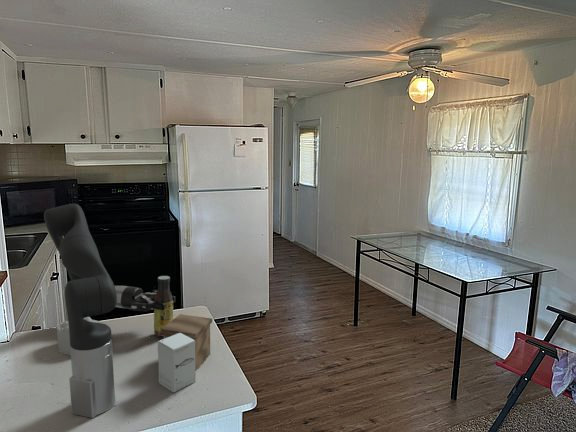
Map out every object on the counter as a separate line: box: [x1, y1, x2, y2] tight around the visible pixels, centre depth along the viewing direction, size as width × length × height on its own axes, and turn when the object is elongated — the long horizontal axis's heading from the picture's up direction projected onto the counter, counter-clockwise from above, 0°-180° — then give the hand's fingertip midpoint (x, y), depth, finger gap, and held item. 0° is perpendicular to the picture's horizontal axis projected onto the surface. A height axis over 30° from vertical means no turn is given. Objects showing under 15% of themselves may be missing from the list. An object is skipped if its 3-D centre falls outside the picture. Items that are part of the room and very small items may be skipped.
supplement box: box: [157, 333, 196, 394], centre depth 113 cm, size 7×7×13 cm
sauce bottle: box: [153, 275, 174, 337], centre depth 139 cm, size 7×6×20 cm
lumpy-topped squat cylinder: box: [56, 316, 101, 356], centre depth 132 cm, size 10×13×9 cm
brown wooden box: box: [161, 313, 213, 372], centre depth 124 cm, size 11×11×12 cm
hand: (169, 303), depth 139 cm, fingers closed on sauce bottle, 6 cm apart
